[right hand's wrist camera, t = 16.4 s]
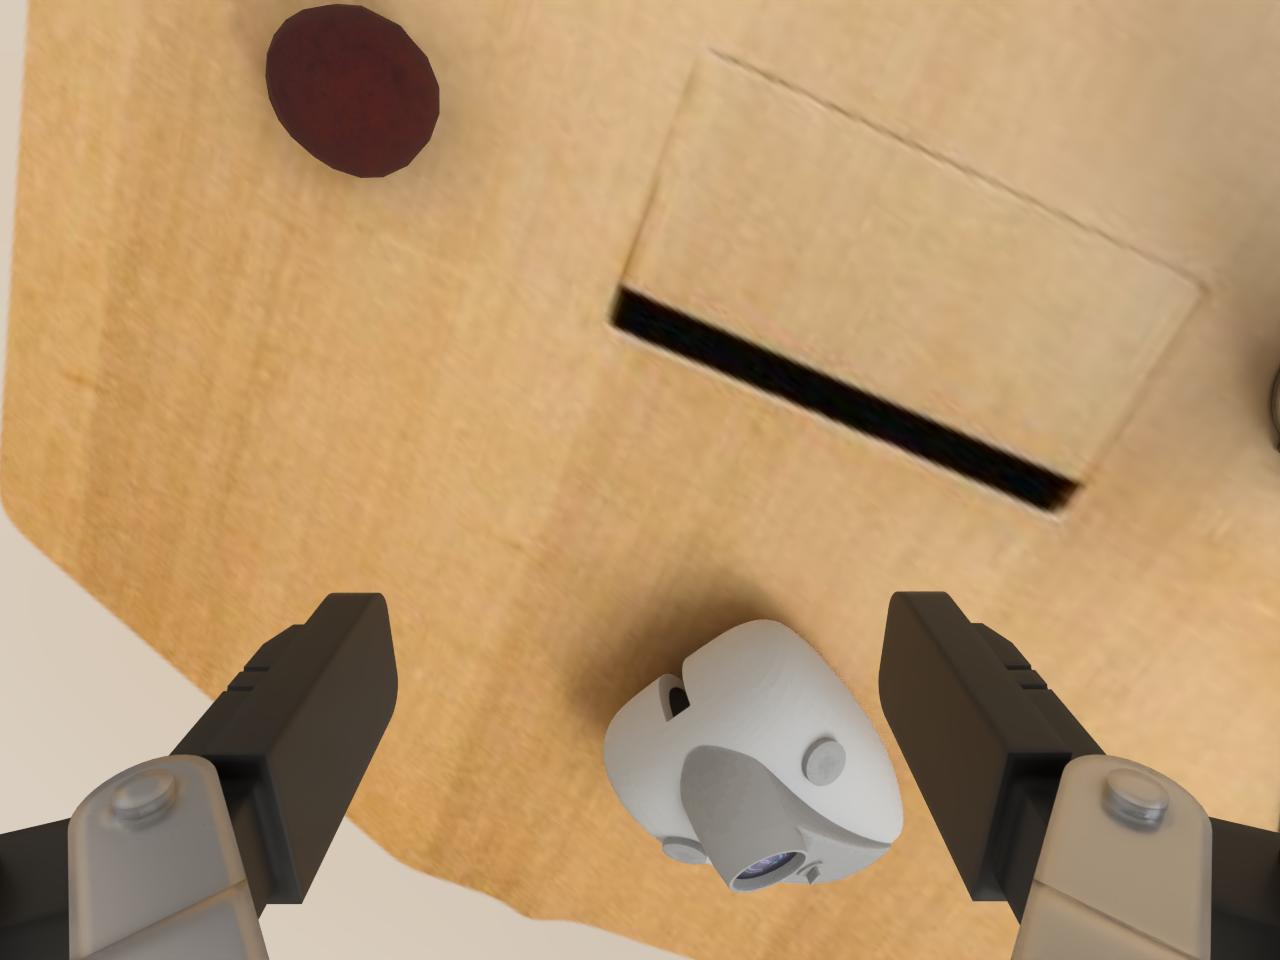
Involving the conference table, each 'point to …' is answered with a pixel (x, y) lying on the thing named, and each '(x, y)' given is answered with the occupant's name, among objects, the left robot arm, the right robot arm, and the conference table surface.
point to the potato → (352, 89)
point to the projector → (756, 764)
